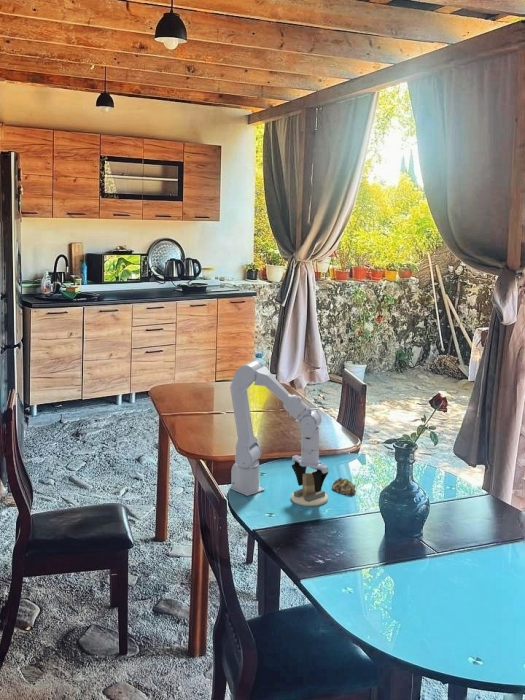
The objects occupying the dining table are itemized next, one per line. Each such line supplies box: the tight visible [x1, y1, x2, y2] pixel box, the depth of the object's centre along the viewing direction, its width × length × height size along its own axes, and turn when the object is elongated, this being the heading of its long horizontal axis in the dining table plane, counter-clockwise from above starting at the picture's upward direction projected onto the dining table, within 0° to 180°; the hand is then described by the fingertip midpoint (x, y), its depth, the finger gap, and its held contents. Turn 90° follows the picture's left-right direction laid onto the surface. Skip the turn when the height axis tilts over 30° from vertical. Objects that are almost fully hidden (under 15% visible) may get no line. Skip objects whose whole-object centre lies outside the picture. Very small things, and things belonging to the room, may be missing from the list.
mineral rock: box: [331, 477, 356, 496], centre depth 247 cm, size 11×4×8 cm
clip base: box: [290, 488, 329, 507], centre depth 239 cm, size 12×12×2 cm
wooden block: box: [302, 469, 316, 498], centre depth 238 cm, size 2×5×8 cm, turn 131°
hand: (309, 488), depth 238 cm, fingers open, 7 cm apart
